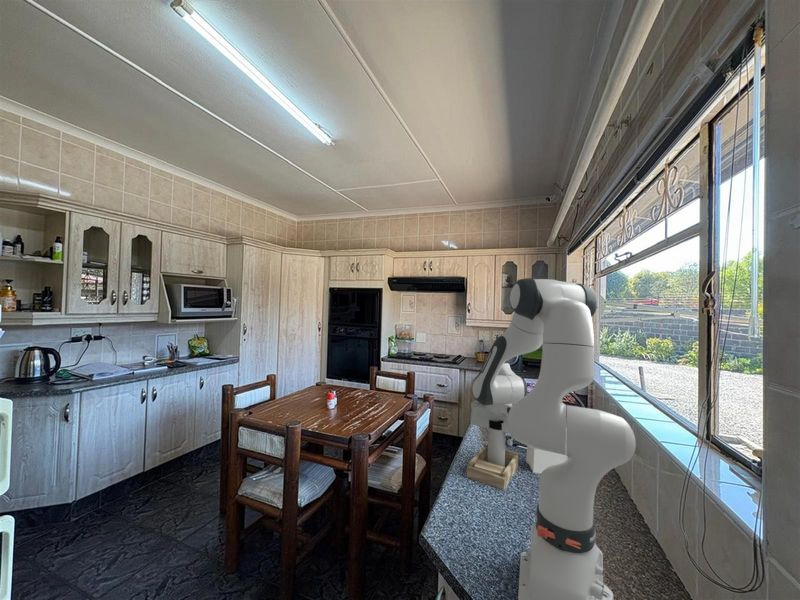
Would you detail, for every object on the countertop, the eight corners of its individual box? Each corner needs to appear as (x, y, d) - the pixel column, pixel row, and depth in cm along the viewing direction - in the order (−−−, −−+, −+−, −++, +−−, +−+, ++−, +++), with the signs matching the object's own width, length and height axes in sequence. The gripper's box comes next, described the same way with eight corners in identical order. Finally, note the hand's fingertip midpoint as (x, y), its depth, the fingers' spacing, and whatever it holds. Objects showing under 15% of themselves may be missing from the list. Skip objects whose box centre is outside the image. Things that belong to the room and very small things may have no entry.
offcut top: (500, 479, 107) (500, 473, 107) (474, 471, 111) (474, 465, 111) (503, 472, 111) (503, 467, 111) (477, 465, 115) (478, 460, 115)
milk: (558, 464, 125) (559, 398, 125) (568, 480, 113) (569, 407, 114) (526, 461, 127) (527, 396, 127) (532, 476, 116) (534, 405, 116)
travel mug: (492, 477, 114) (494, 421, 114) (484, 468, 120) (485, 415, 121) (508, 476, 115) (509, 421, 116) (499, 467, 122) (500, 414, 122)
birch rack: (504, 494, 104) (504, 472, 104) (466, 481, 111) (467, 460, 111) (517, 471, 119) (518, 452, 119) (484, 461, 126) (484, 443, 126)
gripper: (468, 401, 122) (467, 437, 121) (523, 412, 110) (523, 452, 110) (474, 397, 127) (473, 432, 127) (527, 407, 115) (527, 446, 115)
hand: (496, 441), depth 118 cm, fingers open, 8 cm apart
